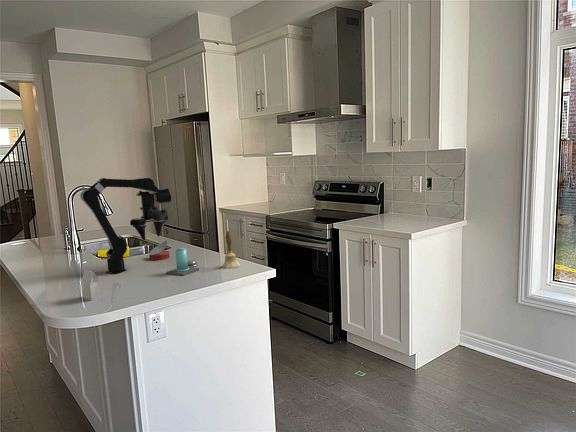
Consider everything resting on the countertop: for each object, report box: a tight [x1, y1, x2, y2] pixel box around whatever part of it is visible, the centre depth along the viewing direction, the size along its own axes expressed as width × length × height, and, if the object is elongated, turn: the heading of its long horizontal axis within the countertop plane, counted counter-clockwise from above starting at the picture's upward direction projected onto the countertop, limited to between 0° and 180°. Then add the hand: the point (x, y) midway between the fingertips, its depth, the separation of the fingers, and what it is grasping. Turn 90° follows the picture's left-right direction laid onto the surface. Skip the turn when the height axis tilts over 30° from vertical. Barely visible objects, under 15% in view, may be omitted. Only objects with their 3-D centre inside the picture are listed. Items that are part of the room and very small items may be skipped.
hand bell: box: [221, 230, 241, 269], centre depth 199 cm, size 8×8×16 cm
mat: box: [165, 267, 200, 277], centre depth 194 cm, size 10×10×1 cm
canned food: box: [148, 240, 171, 262], centre depth 224 cm, size 11×10×10 cm
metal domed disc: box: [188, 259, 199, 268], centre depth 204 cm, size 6×6×2 cm
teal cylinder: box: [174, 247, 189, 272], centre depth 193 cm, size 6×6×10 cm
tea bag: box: [80, 269, 102, 302], centre depth 162 cm, size 4×7×10 cm, turn 51°
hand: (151, 237), depth 208 cm, fingers open, 9 cm apart
